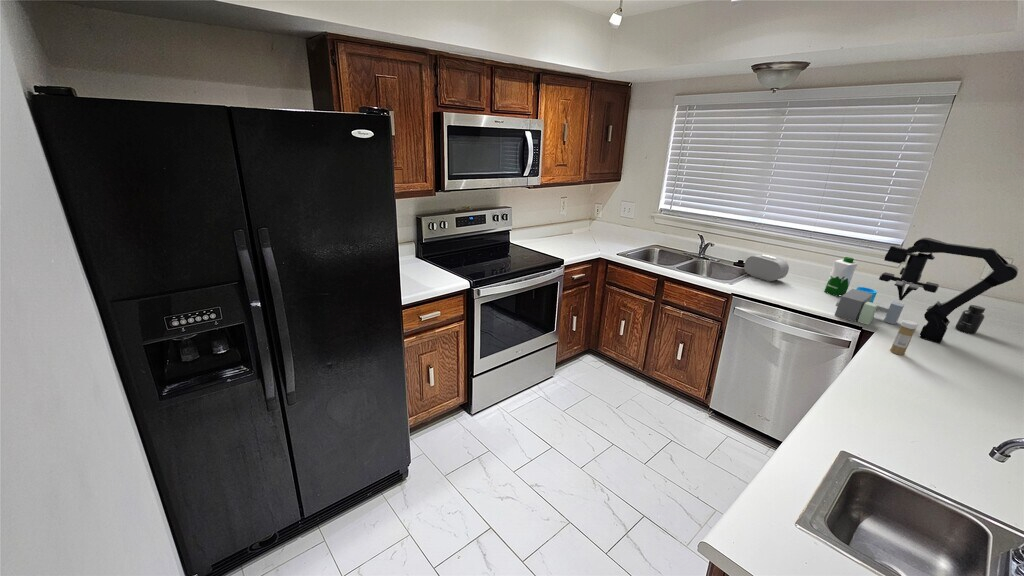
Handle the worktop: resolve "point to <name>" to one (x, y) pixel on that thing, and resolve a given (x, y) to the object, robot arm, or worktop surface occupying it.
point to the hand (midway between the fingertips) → (900, 300)
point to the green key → (866, 312)
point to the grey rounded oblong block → (766, 267)
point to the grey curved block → (852, 304)
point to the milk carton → (840, 276)
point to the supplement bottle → (970, 319)
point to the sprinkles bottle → (903, 337)
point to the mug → (868, 292)
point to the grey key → (892, 312)
